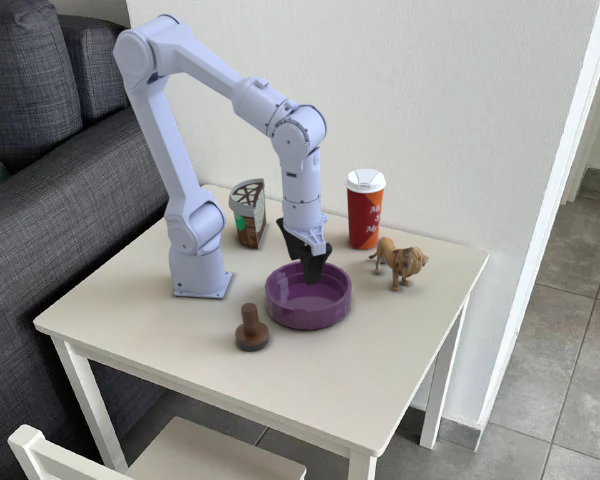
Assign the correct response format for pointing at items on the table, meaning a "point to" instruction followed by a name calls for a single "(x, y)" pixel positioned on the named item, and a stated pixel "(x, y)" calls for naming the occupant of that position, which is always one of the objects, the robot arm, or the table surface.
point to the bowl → (308, 296)
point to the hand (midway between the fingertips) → (304, 270)
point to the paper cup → (364, 206)
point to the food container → (249, 211)
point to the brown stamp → (251, 330)
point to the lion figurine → (399, 260)
